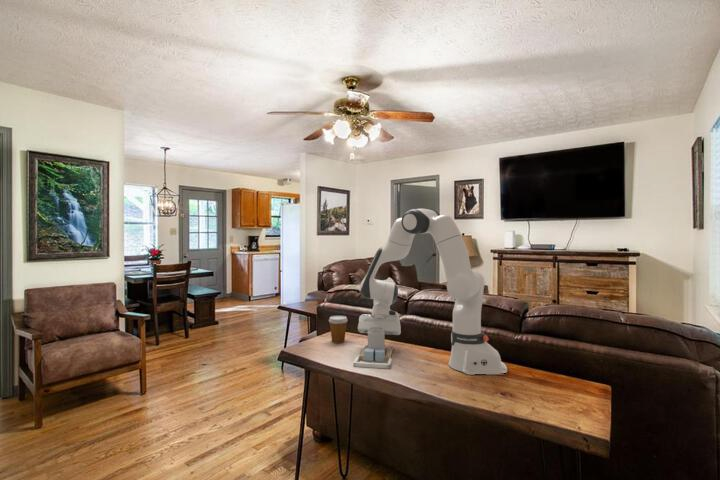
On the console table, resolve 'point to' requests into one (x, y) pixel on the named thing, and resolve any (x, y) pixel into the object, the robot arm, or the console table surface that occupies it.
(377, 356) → the light blue boxy piece
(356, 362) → the white u-shaped frame
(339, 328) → the disposable coffee cup
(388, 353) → the slot rails
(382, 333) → the can
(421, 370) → the console table surface
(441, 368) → the console table surface
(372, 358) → the light blue cubic block
